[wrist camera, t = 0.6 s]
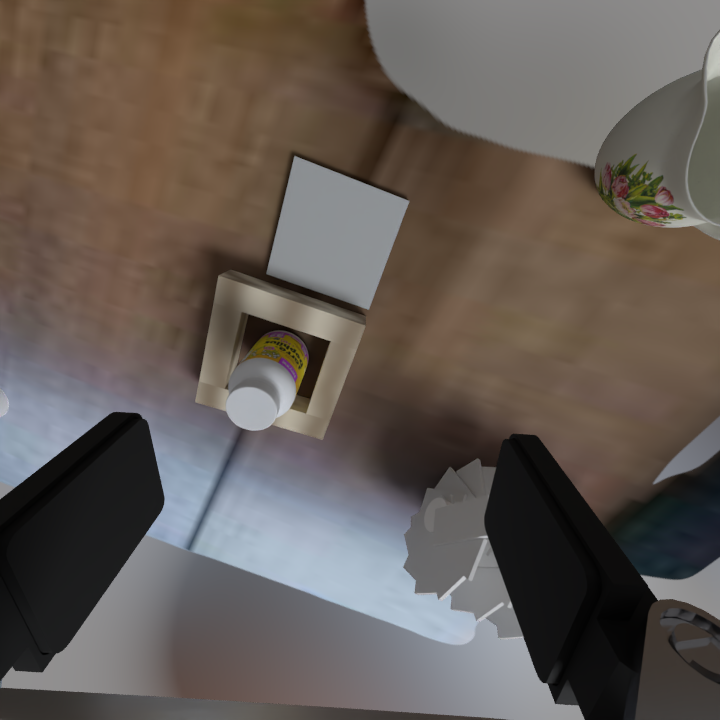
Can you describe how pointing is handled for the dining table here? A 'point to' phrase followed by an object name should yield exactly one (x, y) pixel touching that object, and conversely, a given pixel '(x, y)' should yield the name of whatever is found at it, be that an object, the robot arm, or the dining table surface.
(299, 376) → the supplement bottle
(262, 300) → the cup holder
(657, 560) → the dining table surface
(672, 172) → the pitcher
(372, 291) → the grey mat
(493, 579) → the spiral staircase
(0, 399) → the white scalloped holder tray
